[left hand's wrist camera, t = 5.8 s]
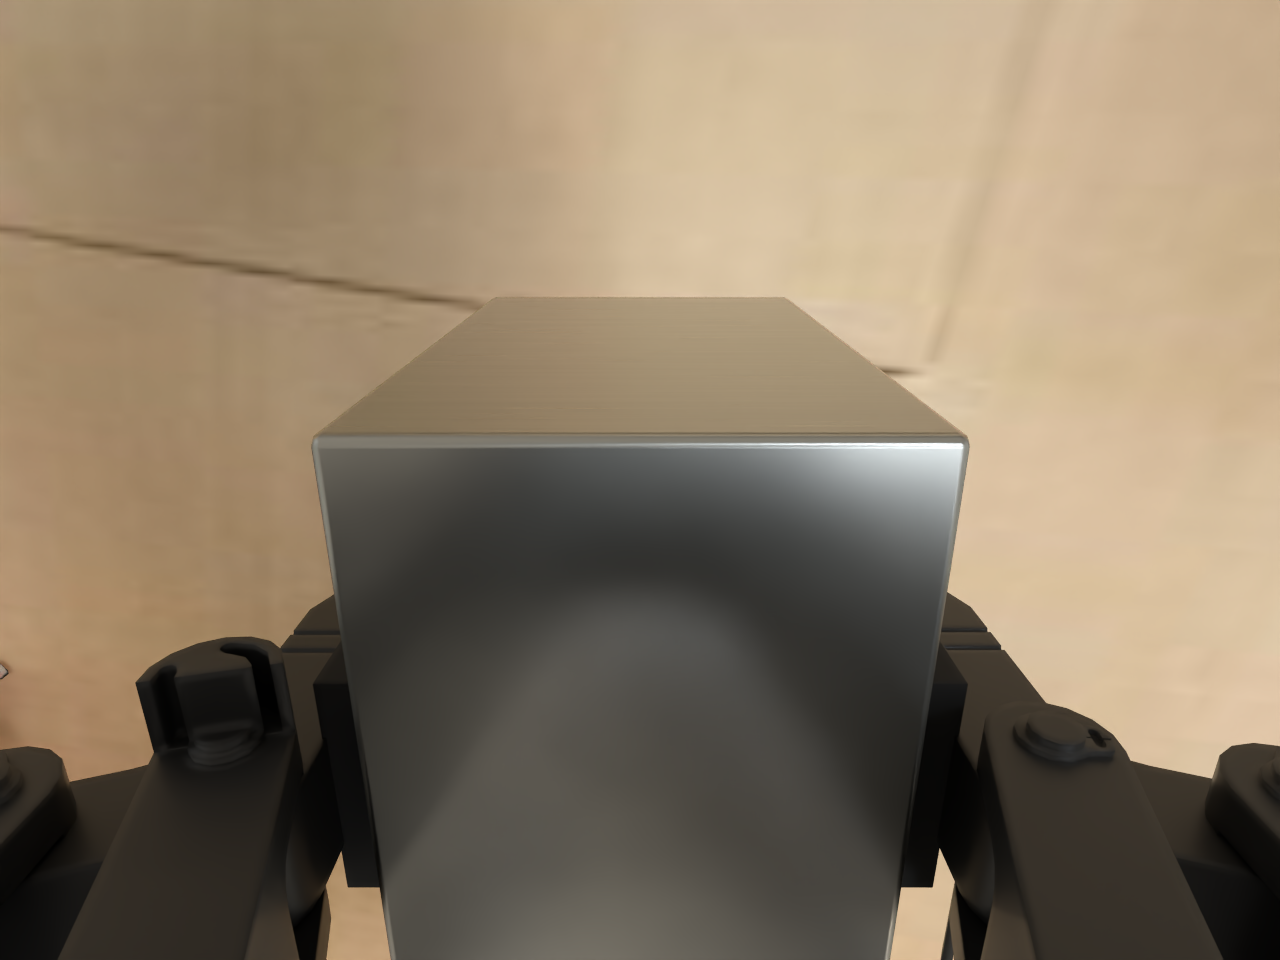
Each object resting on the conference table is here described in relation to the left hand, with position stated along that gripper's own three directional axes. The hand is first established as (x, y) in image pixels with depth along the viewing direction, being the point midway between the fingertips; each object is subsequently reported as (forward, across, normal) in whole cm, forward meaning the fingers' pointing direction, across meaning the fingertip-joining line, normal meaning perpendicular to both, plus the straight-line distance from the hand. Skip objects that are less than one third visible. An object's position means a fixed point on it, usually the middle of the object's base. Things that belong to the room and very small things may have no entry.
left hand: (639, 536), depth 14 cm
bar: (+1, 0, -8) cm, 8 cm away
